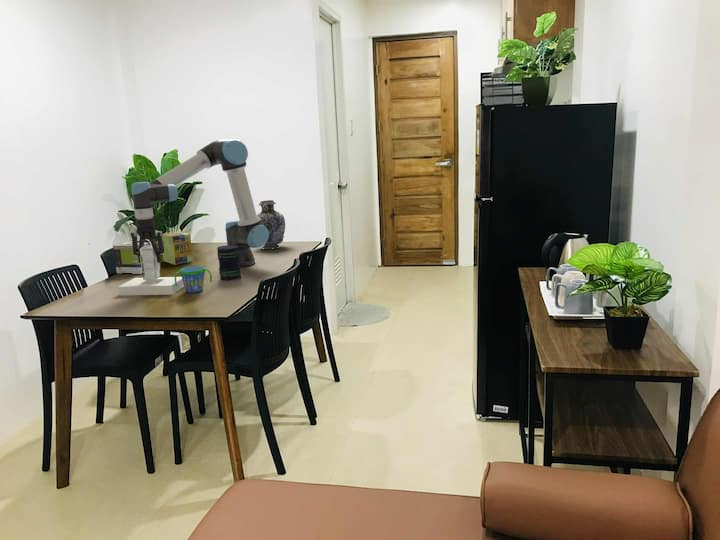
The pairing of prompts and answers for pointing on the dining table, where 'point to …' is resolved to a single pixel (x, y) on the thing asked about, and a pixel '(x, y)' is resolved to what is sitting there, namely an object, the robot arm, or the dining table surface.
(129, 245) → the tea box
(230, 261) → the storage jar
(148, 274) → the syrup box
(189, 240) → the protein box
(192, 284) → the snack cup
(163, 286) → the flat white box
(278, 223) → the decorative vase
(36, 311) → the dining table surface
